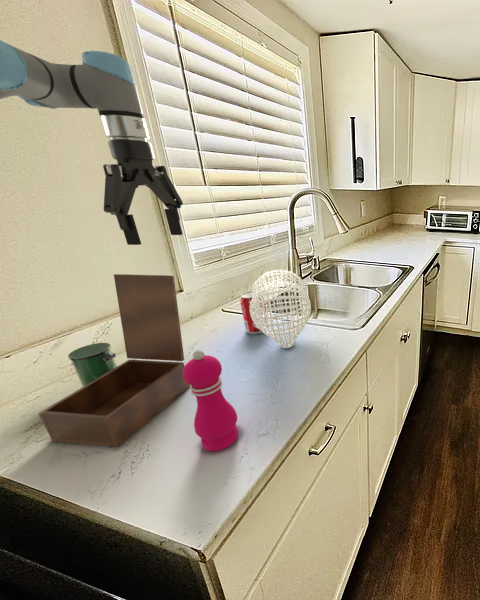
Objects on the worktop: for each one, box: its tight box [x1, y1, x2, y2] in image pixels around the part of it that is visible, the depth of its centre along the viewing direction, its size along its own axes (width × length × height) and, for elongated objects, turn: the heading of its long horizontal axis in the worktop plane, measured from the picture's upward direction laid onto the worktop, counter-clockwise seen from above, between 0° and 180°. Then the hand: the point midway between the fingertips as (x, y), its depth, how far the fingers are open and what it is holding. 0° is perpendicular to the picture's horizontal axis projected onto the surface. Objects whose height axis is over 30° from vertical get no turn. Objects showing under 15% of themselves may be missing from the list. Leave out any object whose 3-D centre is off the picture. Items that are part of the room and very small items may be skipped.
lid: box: [113, 273, 185, 362], centre depth 77 cm, size 21×15×1 cm
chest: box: [38, 359, 190, 448], centre depth 71 cm, size 20×15×7 cm
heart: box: [250, 269, 312, 349], centre depth 95 cm, size 28×16×22 cm, turn 21°
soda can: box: [239, 291, 268, 335], centre depth 107 cm, size 7×7×13 cm
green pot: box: [67, 342, 118, 388], centre depth 80 cm, size 10×8×10 cm
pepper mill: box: [183, 349, 239, 452], centre depth 61 cm, size 7×7×20 cm
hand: (157, 239), depth 79 cm, fingers open, 12 cm apart
